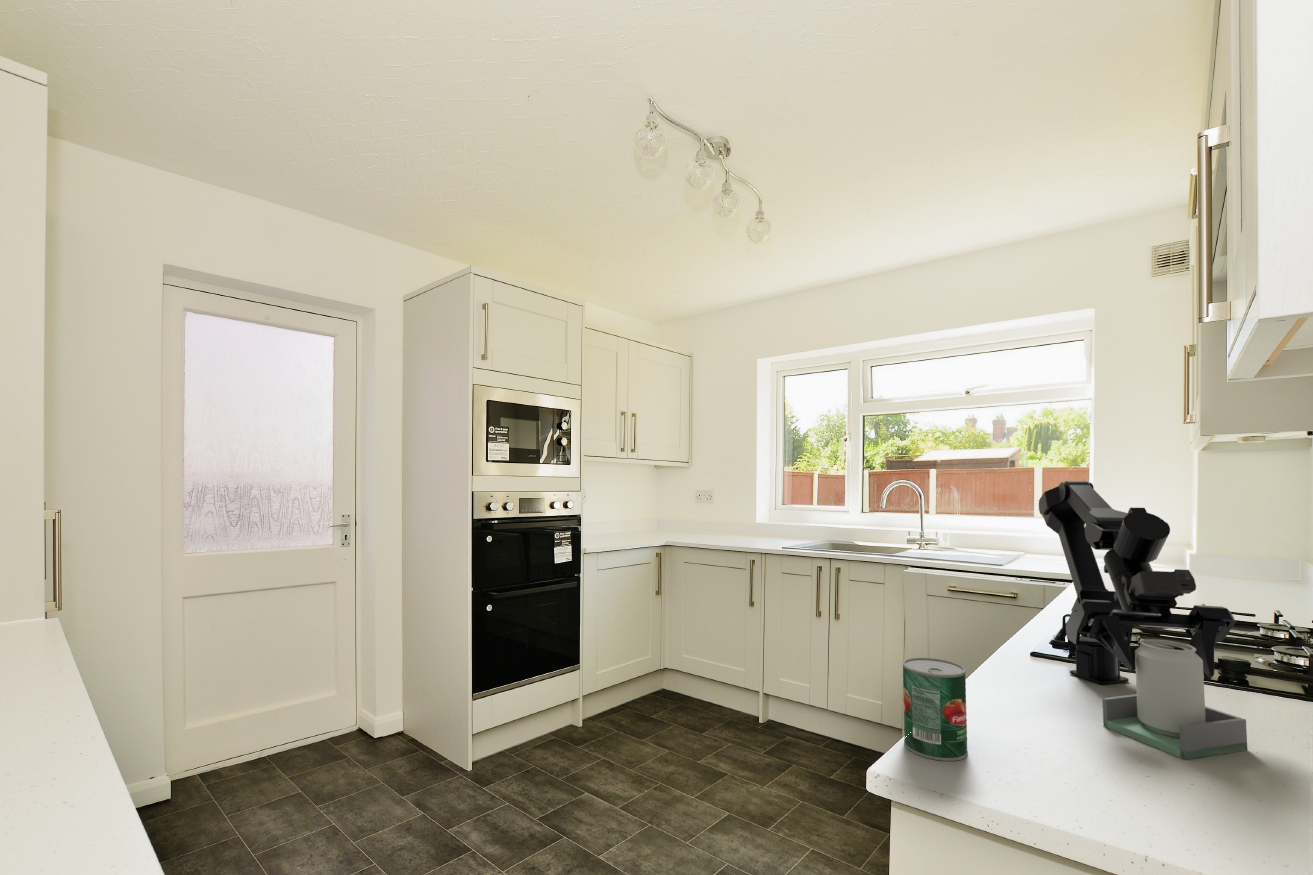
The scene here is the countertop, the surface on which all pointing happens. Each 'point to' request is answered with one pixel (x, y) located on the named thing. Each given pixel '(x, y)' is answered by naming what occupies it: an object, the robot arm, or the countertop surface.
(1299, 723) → the countertop surface
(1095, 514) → the robot arm
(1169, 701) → the can
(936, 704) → the canned tomato
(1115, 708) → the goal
